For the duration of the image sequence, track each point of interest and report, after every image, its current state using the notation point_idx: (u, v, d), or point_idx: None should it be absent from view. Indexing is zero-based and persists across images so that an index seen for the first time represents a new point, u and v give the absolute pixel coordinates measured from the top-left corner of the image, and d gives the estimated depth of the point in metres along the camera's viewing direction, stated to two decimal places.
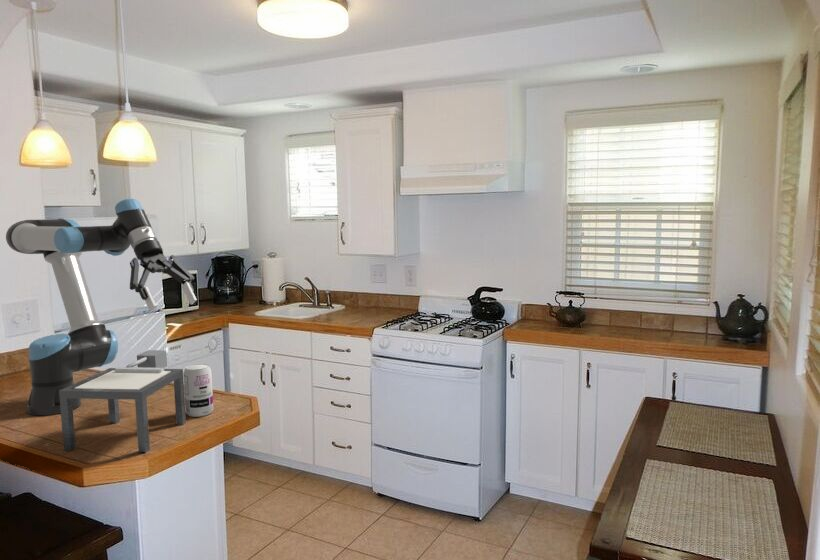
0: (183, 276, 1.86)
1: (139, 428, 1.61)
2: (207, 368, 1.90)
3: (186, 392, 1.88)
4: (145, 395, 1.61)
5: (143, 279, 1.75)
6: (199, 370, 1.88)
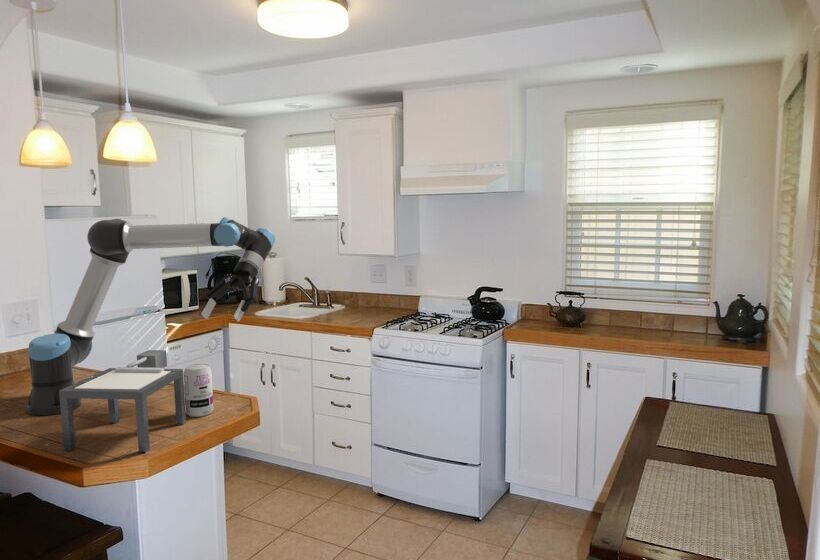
0: None
1: (139, 428, 1.61)
2: (207, 368, 1.90)
3: (186, 392, 1.88)
4: (145, 395, 1.61)
5: None
6: (199, 370, 1.88)
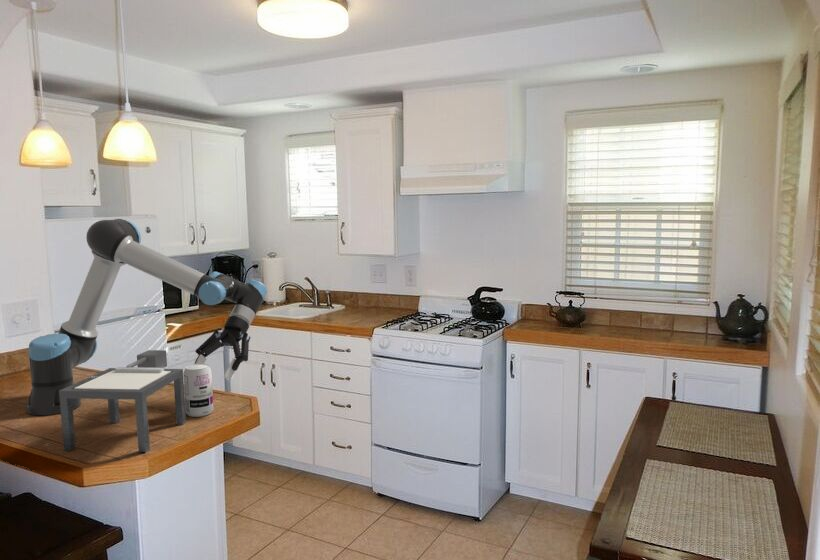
0: None
1: (139, 428, 1.61)
2: (207, 368, 1.90)
3: (186, 392, 1.88)
4: (145, 395, 1.61)
5: None
6: (199, 370, 1.88)
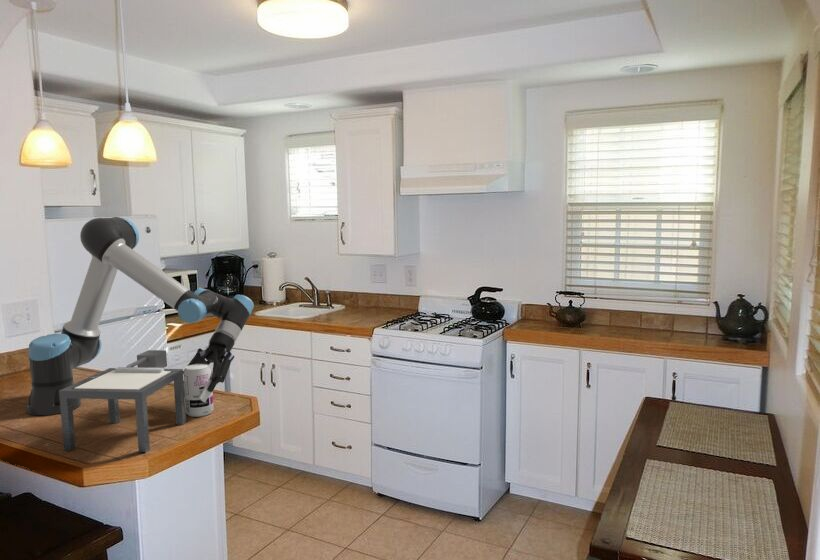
0: None
1: (139, 428, 1.61)
2: (207, 368, 1.90)
3: (186, 392, 1.88)
4: (145, 395, 1.61)
5: None
6: (199, 370, 1.88)
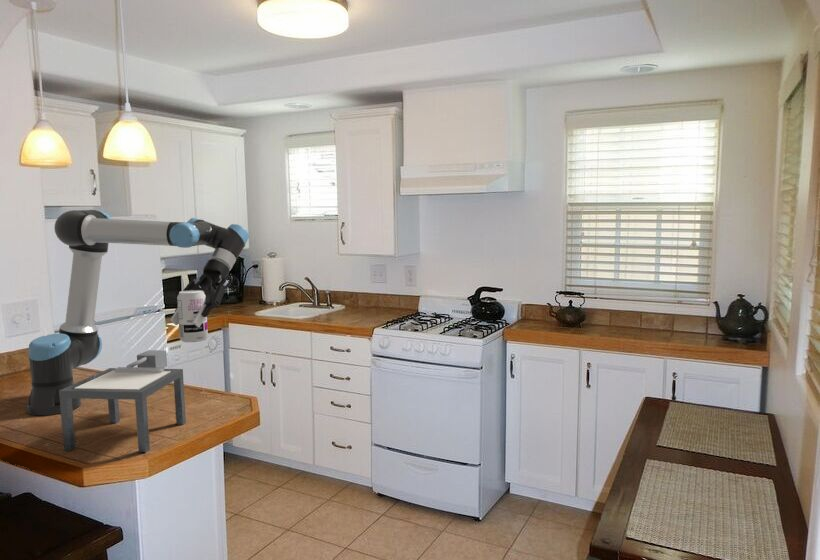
0: None
1: (139, 428, 1.61)
2: (201, 293, 1.86)
3: (180, 317, 1.85)
4: (145, 395, 1.61)
5: None
6: (193, 294, 1.84)
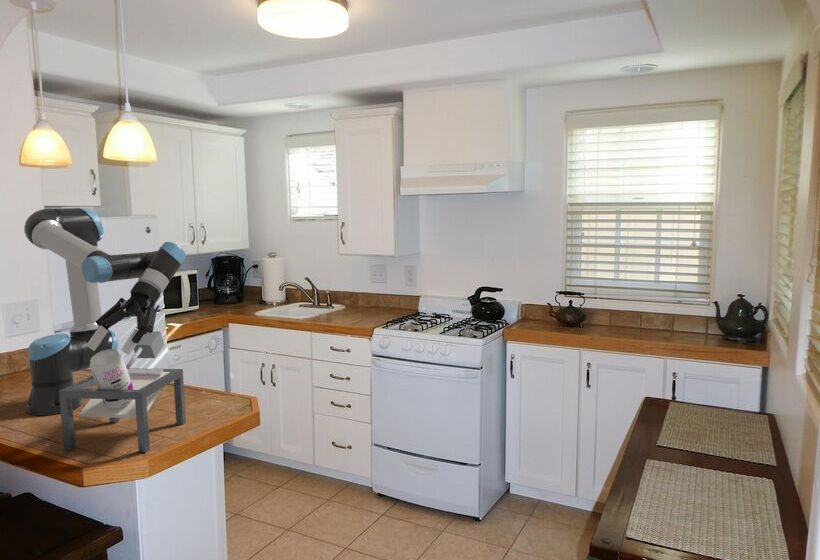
0: None
1: (139, 428, 1.61)
2: (116, 359, 1.62)
3: (97, 386, 1.63)
4: (145, 395, 1.61)
5: None
6: (106, 365, 1.60)
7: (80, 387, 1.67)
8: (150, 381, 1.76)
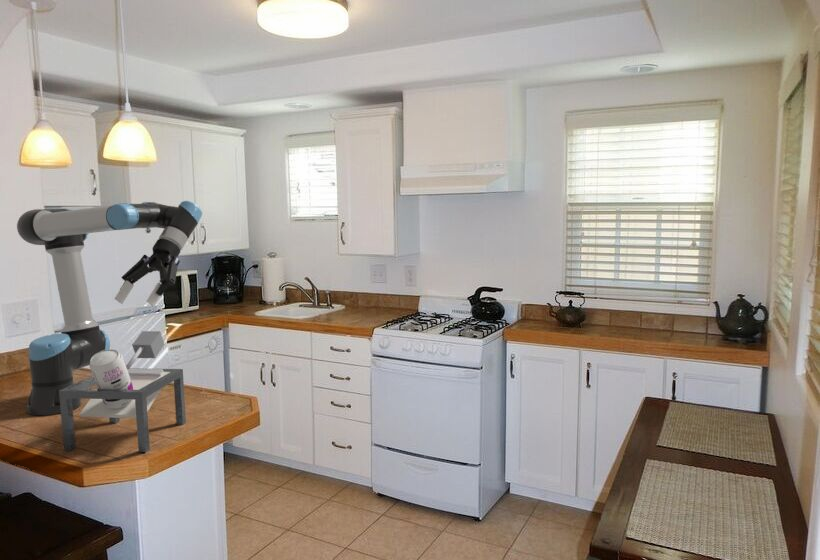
0: None
1: (139, 428, 1.61)
2: (116, 359, 1.62)
3: (97, 386, 1.63)
4: (145, 395, 1.61)
5: None
6: (106, 365, 1.60)
7: (80, 387, 1.67)
8: (150, 381, 1.76)
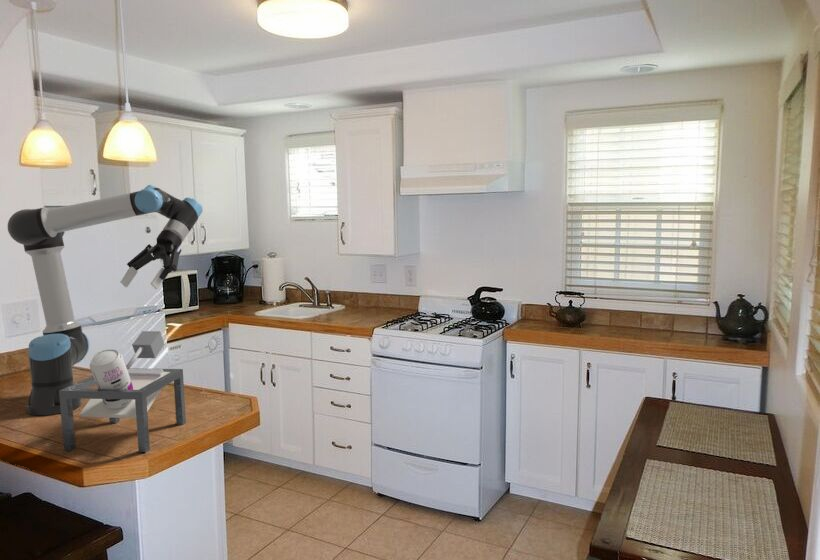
0: None
1: (139, 428, 1.61)
2: (116, 359, 1.62)
3: (97, 386, 1.63)
4: (145, 395, 1.61)
5: None
6: (106, 365, 1.60)
7: (80, 387, 1.67)
8: (150, 381, 1.76)
